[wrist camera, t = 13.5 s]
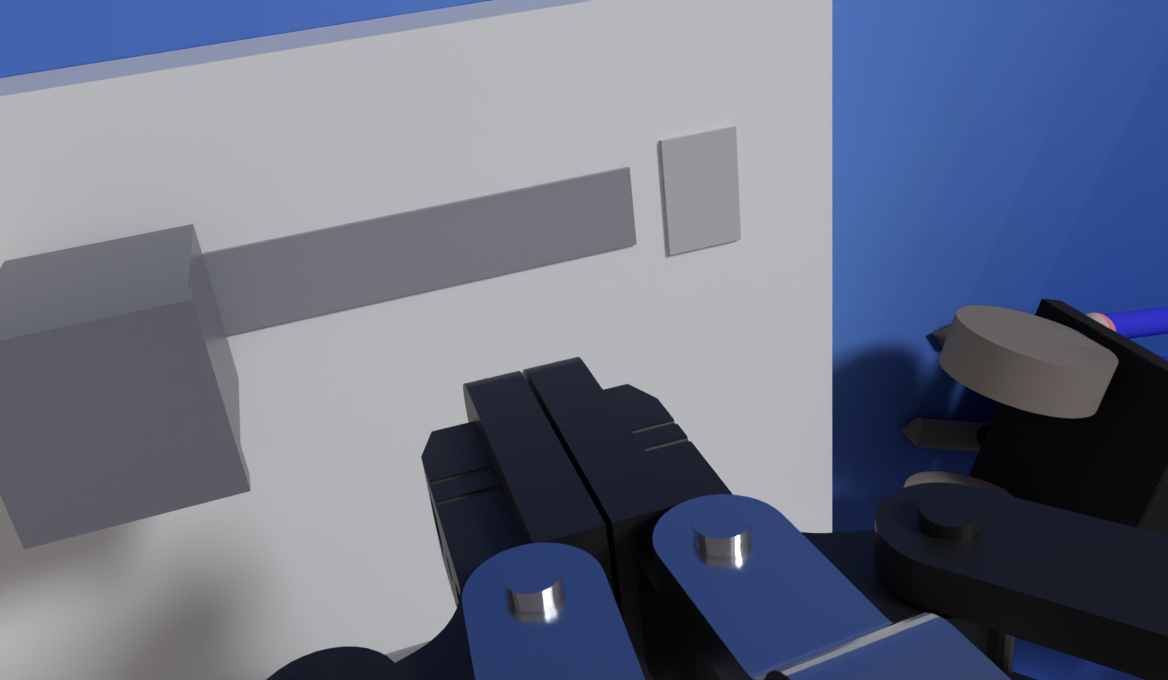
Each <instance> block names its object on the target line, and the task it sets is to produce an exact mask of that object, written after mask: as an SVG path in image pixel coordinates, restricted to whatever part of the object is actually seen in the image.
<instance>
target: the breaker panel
mask: <svg viewBox="0 0 1168 680" xmlns="http://www.w3.org/2000/svg"><path fill="white" fill-rule="evenodd" d="M190 224H193V225H194V228H195V231H196V235H197V238H198V242H199V245H200V248H201V252H202V255H203V259H204V262H205V265H206V269H207V272H208V276H209V279H210V282H211V286H212V289H213V293H214V296H215V299H216V303H217V306H218V310H219V313H220V316H221V320H222V323H223V327H224V330H225V333H226V337H227V340H228V344H229V347H230V350H231V354H232V357H233V361H234V364H235V367H236V371H237V374H238V379H239V410H240V440H241V447H242V451H243V454H244V457H245V461H246V464H247V467H248V470H249V474H250V491H249V492H245V493H242V494H238V495H234V496H230V497H226V498H222V499H218V500H214V501H210V502H207V503H203V504H199V505H195V506H191V507H187V508H183V509H179V510H176V511H172V512H168V513H164V514H160V515H156V516H152V517H148V518H144V519H141V520H137V521H133V522H129V523H125V524H121V525H117V526H113V527H110V528H106V529H102V530H98V531H94V532H90V533H86V534H82V535H78V536H75V537H71V538H67V539H63V540H59V541H55V542H51V543H47V544H44V545H40V546H36V547H32V548H28V549H24V548H23V546H22V543H21V541H20V539H19V537H18V534H17V532H16V530H15V528H14V525H13V523H12V521H11V518H10V516H9V514H8V512H7V509H6V507H5V505H4V502H3V500H2V498H1V496H0V680H266V679H267V678H269V677H270V676H271V675H272V674H274V673H275V672H276V671H277V670H279V669H280V668H282V667H284V666H285V665H287V664H288V663H290V662H292V661H294V660H296V659H298V658H300V657H302V656H305V655H308V654H310V653H313V652H316V651H320V650H324V649H328V648H334V647H342V646H356V647H363V648H369V649H372V650H375V651H378V652H380V653H382V654H384V655H386V656H388V657H389V658H390V659H391V660H392V661H394V662H395V663H396V662H397V661H399V660H401V659H403V658H405V657H406V656H408V655H410V654H412V653H413V652H415V651H417V650H418V649H420V648H421V647H423V646H424V645H426V644H427V643H428V642H430V641H431V640H432V639H433V638H435V637H436V636H437V635H438V634H439V633H440V632H441V631H442V630H443V629H444V628H445V627H446V625H447V624H448V622H449V621H450V620H451V618H452V617H453V615H454V613H455V611H456V609H457V607H456V604H455V600H454V597H453V593H452V590H451V586H450V583H449V579H448V576H447V572H446V569H445V565H444V562H443V558H442V554H441V549H440V545H439V540H438V535H437V530H436V526H435V521H434V516H433V511H432V507H431V502H430V497H429V492H428V488H427V483H426V478H425V473H424V468H423V464H422V459H421V456H422V454H423V451H424V449H425V446H426V444H427V441H428V439H429V437H430V434H431V432H432V431H436V430H440V429H444V428H448V427H452V426H456V425H460V424H464V423H468V417H467V412H466V406H465V401H464V394H463V384H464V383H468V382H473V381H477V380H481V379H486V378H490V377H494V376H498V375H503V374H507V373H511V372H516V371H520V372H521V373H522V372H523V370H524V369H528V368H532V367H536V366H540V365H545V364H549V363H553V362H557V361H562V360H566V359H570V358H575V357H580V358H581V359H582V360H583V362H584V363H585V365H586V366H587V367H588V369H589V370H590V372H591V373H592V375H593V376H594V378H595V379H596V380H597V382H598V383H599V385H600V386H601V388H602V389H603V390H604V389H608V388H612V387H616V386H620V385H625V384H629V385H631V386H633V387H635V388H637V389H640V390H642V391H644V392H646V393H648V394H650V395H652V396H654V397H656V398H658V400H659V401H660V402H661V403H662V405H663V406H664V407H665V408H666V410H667V411H668V412H669V414H670V415H671V416H672V417H673V419H674V422H675V424H678V425H679V426H680V428H681V429H682V430H683V431H684V433H685V434H686V435H687V437H688V441H691V442H692V443H693V444H694V445H695V447H696V448H697V449H698V450H699V452H700V453H701V454H702V456H703V457H704V458H705V459H706V461H707V462H708V463H709V465H710V466H711V467H712V468H713V470H714V471H715V472H716V473H717V475H718V476H719V477H720V479H721V480H722V481H723V482H724V484H725V485H726V486H727V487H728V489H729V490H730V491H731V493H732V494H733V495H740V496H747V497H750V498H754V499H758V500H760V501H763V502H765V503H767V504H769V505H771V506H772V507H774V508H776V509H777V510H778V511H779V512H781V513H782V514H783V515H784V516H785V517H786V518H787V519H788V520H789V521H790V522H791V523H792V524H793V525H794V526H795V527H796V528H797V529H798V530H799V531H800V532H807V533H832V0H493V1H486V2H480V3H474V4H467V5H461V6H455V7H448V8H442V9H436V10H429V11H423V12H417V13H410V14H404V15H398V16H391V17H385V18H379V19H372V20H366V21H360V22H353V23H347V24H341V25H334V26H328V27H322V28H315V29H309V30H303V31H296V32H290V33H284V34H277V35H271V36H265V37H258V38H252V39H246V40H239V41H233V42H227V43H220V44H214V45H208V46H201V47H195V48H189V49H182V50H176V51H170V52H163V53H157V54H151V55H145V56H138V57H132V58H126V59H119V60H113V61H107V62H100V63H94V64H88V65H81V66H75V67H69V68H62V69H56V70H50V71H43V72H37V73H31V74H24V75H18V76H12V77H5V78H0V268H1V266H2V264H3V262H4V261H7V260H12V259H17V258H22V257H27V256H32V255H37V254H42V253H48V252H53V251H58V250H63V249H68V248H73V247H78V246H83V245H88V244H93V243H98V242H104V241H109V240H114V239H119V238H124V237H129V236H134V235H139V234H144V233H149V232H155V231H160V230H165V229H170V228H175V227H180V226H185V225H190Z"/></svg>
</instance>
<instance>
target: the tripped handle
mask: <svg viewBox="0 0 1168 680" xmlns="http://www.w3.org/2000/svg"><path fill="white" fill-rule="evenodd" d="M249 491H250V474H249V470H248V467H247V464H246V461H245V457H244V454H243V451H242V447H241V440H240V410H239V379H238V374H237V371H236V367H235V364H234V361H233V357H232V354H231V350H230V347H229V344H228V340H227V337H226V333H225V330H224V327H223V323H222V320H221V316H220V313H219V310H218V306H217V303H216V299H215V296H214V293H213V289H212V286H211V282H210V279H209V276H208V272H207V269H206V265H205V262H204V259H203V255H202V252H201V248H200V245H199V242H198V238H197V235H196V231H195V228H194V225H193V224H190V225H185V226H180V227H175V228H170V229H165V230H160V231H155V232H149V233H144V234H139V235H134V236H129V237H124V238H119V239H114V240H109V241H104V242H98V243H93V244H88V245H83V246H78V247H73V248H68V249H63V250H58V251H53V252H48V253H42V254H37V255H32V256H27V257H22V258H17V259H12V260H7V261H4V262H3V264H2V266H1V268H0V496H1V498H2V500H3V502H4V505H5V507H6V509H7V512H8V514H9V516H10V518H11V521H12V523H13V525H14V528H15V530H16V532H17V534H18V537H19V539H20V541H21V543H22V546H23V548H24V549H28V548H32V547H36V546H40V545H44V544H47V543H51V542H55V541H59V540H63V539H67V538H71V537H75V536H78V535H82V534H86V533H90V532H94V531H98V530H102V529H106V528H110V527H113V526H117V525H121V524H125V523H129V522H133V521H137V520H141V519H144V518H148V517H152V516H156V515H160V514H164V513H168V512H172V511H176V510H179V509H183V508H187V507H191V506H195V505H199V504H203V503H207V502H210V501H214V500H218V499H222V498H226V497H230V496H234V495H238V494H242V493H245V492H249Z"/></svg>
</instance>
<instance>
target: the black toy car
mask: <svg viewBox="0 0 1168 680" xmlns="http://www.w3.org/2000/svg"><path fill="white" fill-rule="evenodd" d="M1167 333H1168V307H1162V308H1154V309H1145V310H1137V311H1129V312H1121V313H1113V314H1105V315H1103V314H1100V313H1088V314H1083V313H1081V312H1080V311H1078V310H1076V309H1074V308H1072V307H1071V306H1069V305H1067V304H1065V303H1064V302H1062V301H1059V300H1049V299H1042V300H1041V302H1040V305H1039V307H1038V310H1037V312H1036V314H1035V315H1032V314H1028V313H1024V312H1020V311H1016V310H1011V309H1006V308H1001V307H994V306H984V305H970V306H964V307H961V308H959V309H958V310H957V312H956V314H955V317H954V320H953V322H952V324H950V325H948V326H946V327H944V328H942V329H940V330H938V331H936V332H933V333H931V334H932V335H933V336H934V337H935V338H936V339H937V340H938V342H939V343H940V344H941V345H942V346H943V349H942V351H941V354H940V357H939V363H940V365H941V367H942V368H943V369H944V371H945V372H946V373H947V374H949V375H950V376H951V377H952V378H954V379H955V380H956V381H958V382H959V383H961V384H963V385H964V386H966V387H968V388H970V389H971V390H973V391H975V392H977V393H979V394H982V395H984V396H986V397H988V398H991V399H993V400H995V401H998V402H999V404H998V407H997V409H996V412H995V414H994V416H993V419H992V421H991V423H980V422H968V421H956V420H943V419H931V418H919V417H917V418H916V419H914V420H913V421H911V422H910V423H909V424H907V425H906V426H905V427H903V428H902V429H901V430H900V431H901V432H902V433H903V434H904V435H905V436H906V437H907V438H908V439H909V440H910V441H911V442H912V443H913V444H914V446H915V447H924V448H938V449H952V450H965V451H979V453H978V455H977V458H976V460H975V462H974V465H973V467H972V470H971V472H970V475H969V476H966V475H962V474H957V473H951V472H942V471H927V472H921V473H917V474H914V475H912V476H910V477H909V478H908V479H907V480H906V482H905V484H904V487H903V488H905V487H908V486H911V485H916V484H921V483H932V482H946V483H956V484H962V485H967V486H972V487H976V488H980V489H984V490H988V491H992V492H996V493H1000V494H1004V495H1008V496H1012V497H1016V498H1020V499H1024V500H1028V501H1032V502H1035V503H1039V504H1043V505H1047V506H1051V507H1055V508H1059V509H1063V510H1067V511H1071V512H1075V513H1079V514H1083V515H1087V516H1091V517H1095V518H1099V519H1103V520H1107V521H1111V522H1115V523H1119V524H1123V525H1127V526H1131V527H1135V528H1139V529H1143V530H1147V531H1151V532H1155V533H1159V534H1163V535H1167V536H1168V358H1167V357H1160V356H1158V355H1156V354H1154V353H1153V352H1151V351H1149V350H1147V349H1145V348H1144V347H1142V346H1140V345H1138V344H1137V343H1135V342H1133V341H1131V340H1129V338H1136V337H1144V336H1152V335H1160V334H1167Z"/></svg>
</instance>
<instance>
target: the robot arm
mask: <svg viewBox="0 0 1168 680" xmlns="http://www.w3.org/2000/svg"><path fill="white" fill-rule="evenodd" d="M463 394H464V401H465V406H466V412H467V417H468V423H464V424H460V425H456V426H452V427H448V428H444V429H440V430H436V431H432V432H431V434H430V437H429V439H428V441H427V444H426V446H425V449H424V451H423V454H422V456H421V459H422V464H423V468H424V473H425V478H426V483H427V488H428V492H429V497H430V502H431V507H432V511H433V516H434V521H435V526H436V530H437V535H438V540H439V545H440V549H441V554H442V558H443V562H444V565H445V569H446V572H447V576H448V579H449V583H450V586H451V590H452V593H453V597H454V600H455V604H456V607H457V609H456V611H455V613H454V615H453V617H452V618H451V620H450V621H449V622H448V624H447V625H446V627H445V628H444V629H443V630H442V631H441V632H440V633H439V634H438V635H437V636H436V637H435V638H433V639H432V640H431V641H430V642H428V643H427V644H426V645H424V646H423V647H421V648H420V649H418V650H417V651H415V652H413V653H412V654H410V655H408V656H406V657H405V658H403V659H401V660H399V661H397V662H396V663H395V662H394V661H392V660H391V659H390V658H389V657H388V656H386V655H384V654H382V653H380V652H378V651H375V650H372V649H369V648H363V647H356V646H342V647H334V648H328V649H324V650H320V651H316V652H313V653H310V654H308V655H305V656H302V657H300V658H298V659H296V660H294V661H292V662H290V663H288V664H287V665H285V666H284V667H282V668H280V669H279V670H277V671H276V672H275V673H274V674H272V675H271V676H270V677H269V678H267V679H266V680H1036V679H1033V678H1030V677H1028V676H1025V675H1022V674H1019V673H1016V672H1013V671H1012V667H1013V657H1014V648H1015V638H1020V639H1023V640H1026V641H1029V642H1032V643H1035V644H1038V645H1041V646H1044V647H1047V648H1051V649H1054V650H1057V651H1060V652H1063V653H1066V654H1069V655H1072V656H1075V657H1078V658H1081V659H1085V660H1088V661H1091V662H1094V663H1097V664H1100V665H1103V666H1106V667H1109V668H1112V669H1116V670H1119V671H1122V672H1125V673H1128V674H1131V675H1134V676H1137V677H1140V678H1142V679H1145V680H1168V536H1167V535H1163V534H1159V533H1155V532H1151V531H1147V530H1143V529H1139V528H1135V527H1131V526H1127V525H1123V524H1119V523H1115V522H1111V521H1107V520H1103V519H1099V518H1095V517H1091V516H1087V515H1083V514H1079V513H1075V512H1071V511H1067V510H1063V509H1059V508H1055V507H1051V506H1047V505H1043V504H1039V503H1035V502H1032V501H1028V500H1024V499H1020V498H1016V497H1012V496H1008V495H1004V494H1000V493H996V492H992V491H988V490H984V489H980V488H976V487H972V486H967V485H962V484H956V483H946V482H932V483H921V484H916V485H911V486H908V487H905V488H902V489H900V490H897V491H895V492H893V493H892V494H890V495H889V496H888V497H886V498H885V499H884V500H883V501H882V502H881V503H880V505H879V507H878V509H877V511H876V516H875V531H855V532H836V533H807V532H800V531H799V530H798V529H797V528H796V527H795V526H794V525H793V524H792V523H791V522H790V521H789V520H788V519H787V518H786V517H785V516H784V515H783V514H782V513H781V512H779V511H778V510H777V509H776V508H774V507H772V506H771V505H769V504H767V503H765V502H763V501H760V500H758V499H754V498H750V497H747V496H740V495H733V494H732V493H731V491H730V490H729V489H728V487H727V486H726V485H725V484H724V482H723V481H722V480H721V479H720V477H719V476H718V475H717V473H716V472H715V471H714V470H713V468H712V467H711V466H710V465H709V463H708V462H707V461H706V459H705V458H704V457H703V456H702V454H701V453H700V452H699V450H698V449H697V448H696V447H695V445H694V444H693V443H692V442H691V441H688V437H687V435H686V434H685V433H684V431H683V430H682V429H681V428H680V426H679V425H678V424H675V422H674V419H673V417H672V416H671V415H670V414H669V412H668V411H667V410H666V408H665V407H664V406H663V405H662V403H661V402H660V401H659V400H658V398H656V397H654V396H652V395H650V394H648V393H646V392H644V391H642V390H640V389H637V388H635V387H633V386H631V385H629V384H625V385H620V386H616V387H612V388H608V389H604V390H603V389H602V388H601V386H600V385H599V383H598V382H597V380H596V379H595V378H594V376H593V375H592V373H591V372H590V370H589V369H588V367H587V366H586V365H585V363H584V362H583V360H582V359H581V358H580V357H575V358H570V359H566V360H562V361H557V362H553V363H549V364H545V365H540V366H536V367H532V368H528V369H524V370H523V372H522V373H521V372H520V371H516V372H511V373H507V374H503V375H498V376H494V377H490V378H486V379H481V380H477V381H473V382H468V383H464V384H463Z"/></svg>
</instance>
